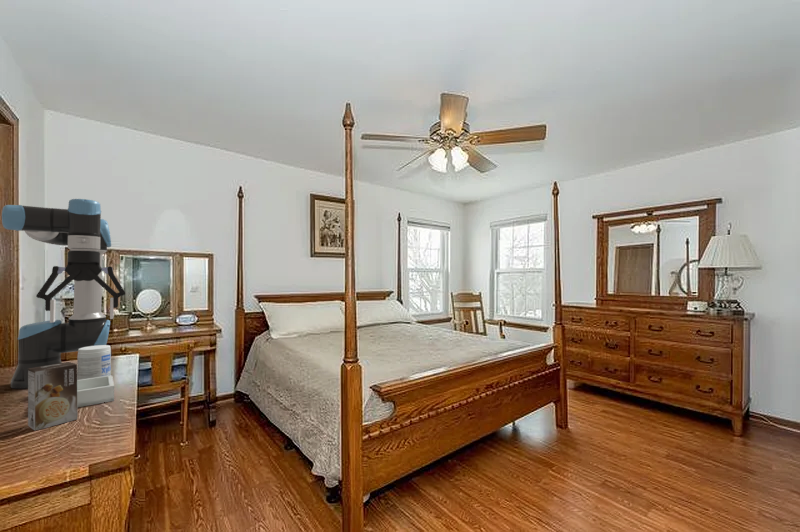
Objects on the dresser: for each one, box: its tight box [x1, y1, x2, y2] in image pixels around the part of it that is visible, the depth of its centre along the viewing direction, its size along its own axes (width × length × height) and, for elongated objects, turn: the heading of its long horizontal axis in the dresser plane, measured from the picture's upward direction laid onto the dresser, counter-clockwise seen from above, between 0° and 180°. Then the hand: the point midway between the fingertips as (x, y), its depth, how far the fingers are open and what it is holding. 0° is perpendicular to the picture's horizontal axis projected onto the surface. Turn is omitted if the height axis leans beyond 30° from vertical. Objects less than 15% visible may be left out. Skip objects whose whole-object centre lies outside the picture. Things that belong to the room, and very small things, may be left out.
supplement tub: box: [76, 344, 112, 380], centre depth 134 cm, size 10×10×15 cm
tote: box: [77, 374, 115, 408], centre depth 121 cm, size 16×16×5 cm
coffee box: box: [27, 361, 78, 432], centre depth 103 cm, size 9×6×16 cm
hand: (83, 320), depth 110 cm, fingers open, 13 cm apart
